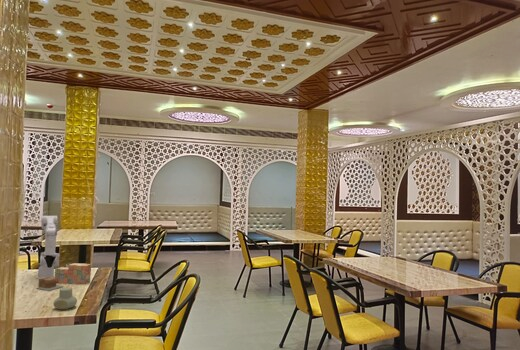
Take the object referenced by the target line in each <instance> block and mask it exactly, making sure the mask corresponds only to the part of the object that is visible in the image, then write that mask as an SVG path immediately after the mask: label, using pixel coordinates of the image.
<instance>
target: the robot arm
mask: <svg viewBox="0 0 520 350" xmlns="http://www.w3.org/2000/svg"><path fill="white" fill-rule="evenodd" d="M40 223H41V229H42V230H43V231H44V232H45V234H44V237H45V240H44V251H42V252H40V256H39V265H40V266H38V268H37V269H38V271H37V272H38V273H37V278H36V279H37V280H39V278H44V277H49V278H55V274H54V273H55V265H56V264H57V261H58V259H57V258H60V255H61V254H60V253H57V252H56V247H57V246H56V244H57V235H58V215H41V220H40Z"/></svg>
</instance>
